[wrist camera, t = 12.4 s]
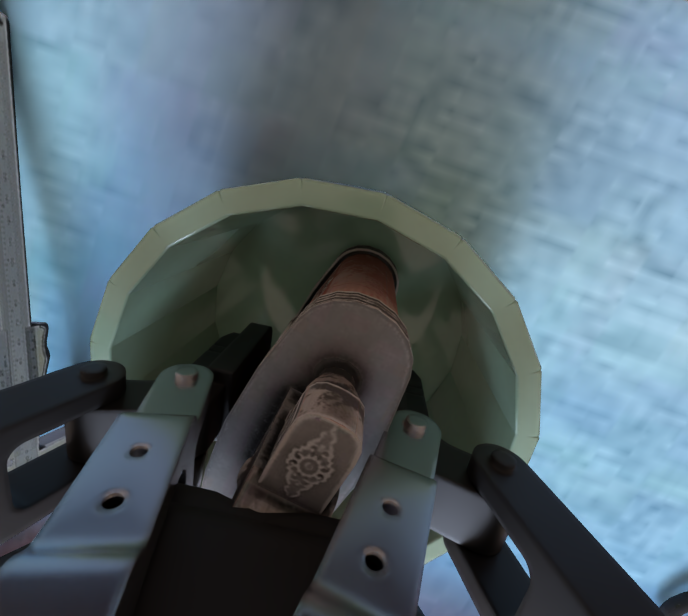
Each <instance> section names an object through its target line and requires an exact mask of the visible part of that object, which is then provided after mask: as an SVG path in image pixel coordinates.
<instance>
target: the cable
mask: <svg viewBox="0 0 688 616" xmlns="http://www.w3.org/2000/svg"><path fill="white" fill-rule="evenodd" d="M659 609H660V610H661V611H662V612H663V613H664V614H665V615H666V616H682V615H683V614H685V613H687V612H688V591H687V592H683V593H680V594H678V595H676V596H673V597H671V598H669V599H668V600H667V601H665V602H664V603H663V604H662V605H661V606H660V608H659Z"/></svg>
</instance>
